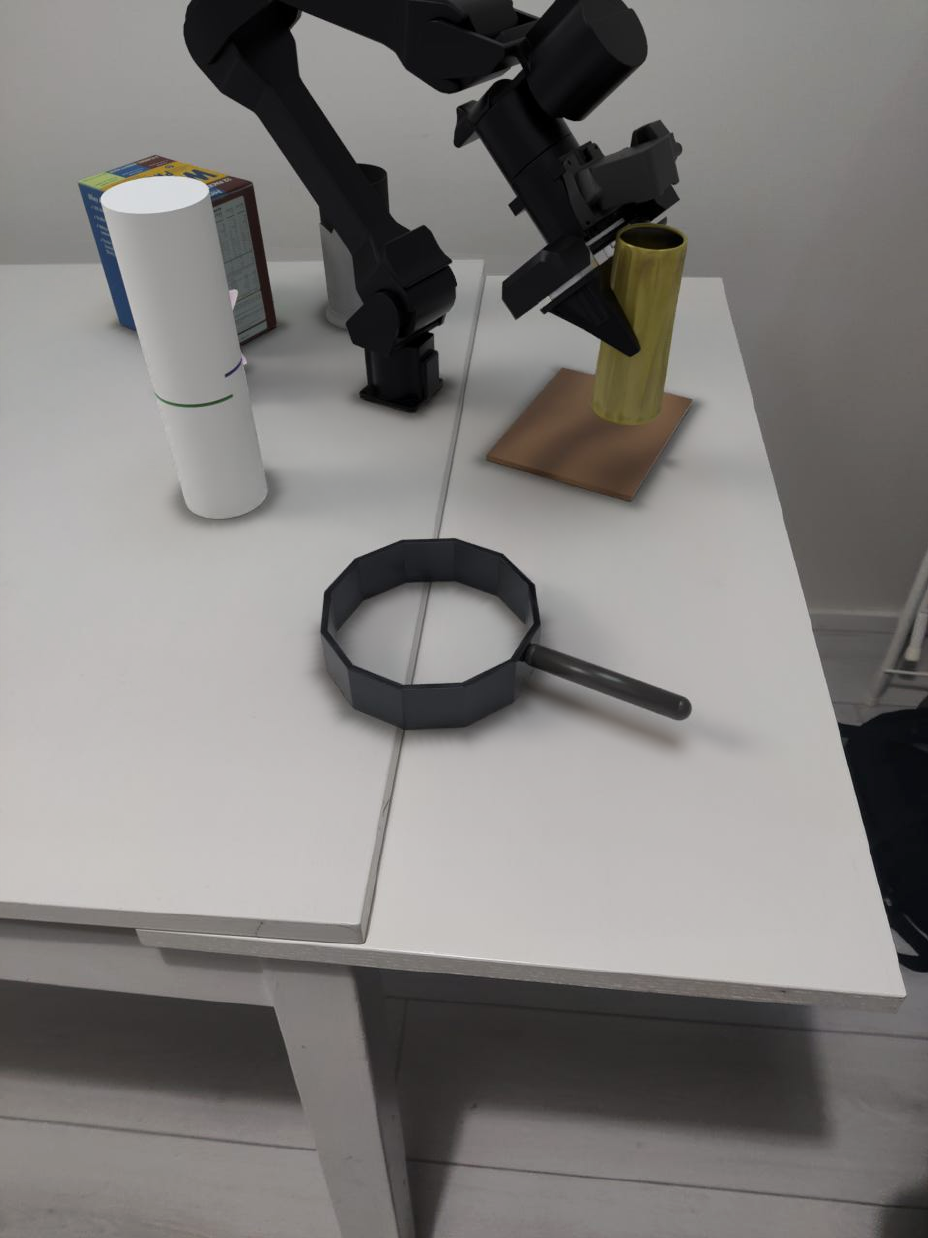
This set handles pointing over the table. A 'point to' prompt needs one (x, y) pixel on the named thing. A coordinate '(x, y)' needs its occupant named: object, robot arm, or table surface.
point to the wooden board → (585, 439)
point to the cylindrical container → (188, 339)
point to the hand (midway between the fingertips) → (652, 339)
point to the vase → (641, 323)
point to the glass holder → (345, 257)
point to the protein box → (233, 228)
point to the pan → (486, 689)
